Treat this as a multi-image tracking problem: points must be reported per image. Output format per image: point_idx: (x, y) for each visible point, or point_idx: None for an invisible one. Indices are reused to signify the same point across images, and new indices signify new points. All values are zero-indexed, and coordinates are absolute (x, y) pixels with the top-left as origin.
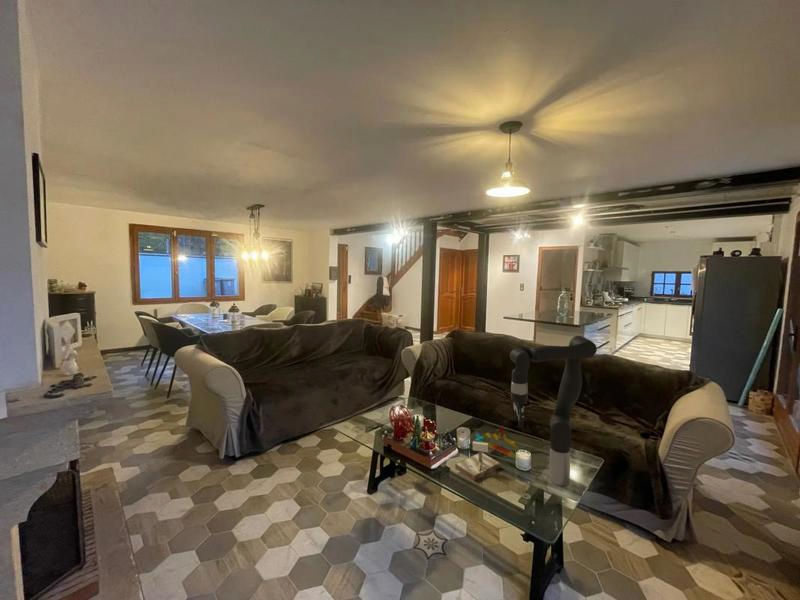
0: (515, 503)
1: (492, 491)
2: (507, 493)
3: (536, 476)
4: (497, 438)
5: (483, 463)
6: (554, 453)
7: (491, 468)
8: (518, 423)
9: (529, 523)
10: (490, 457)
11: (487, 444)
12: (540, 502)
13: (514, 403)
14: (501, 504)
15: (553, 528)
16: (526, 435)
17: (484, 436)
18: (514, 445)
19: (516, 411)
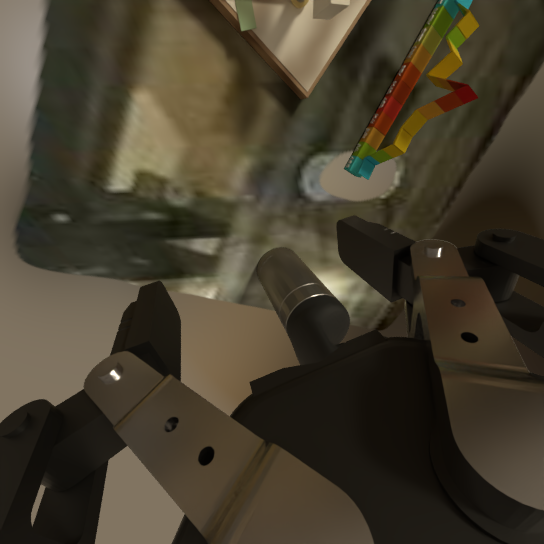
0: (121, 162)
1: (146, 69)
2: (162, 132)
3: (280, 217)
4: (432, 77)
5: (290, 14)
6: (289, 305)
7: (269, 58)
8: (155, 300)
9: (46, 208)
10: (337, 51)
11: (337, 1)
12: (166, 232)
13: (542, 504)
14: (86, 110)
15: (71, 267)
16: (463, 182)
17: (463, 12)
18: (388, 152)
19: (210, 410)
